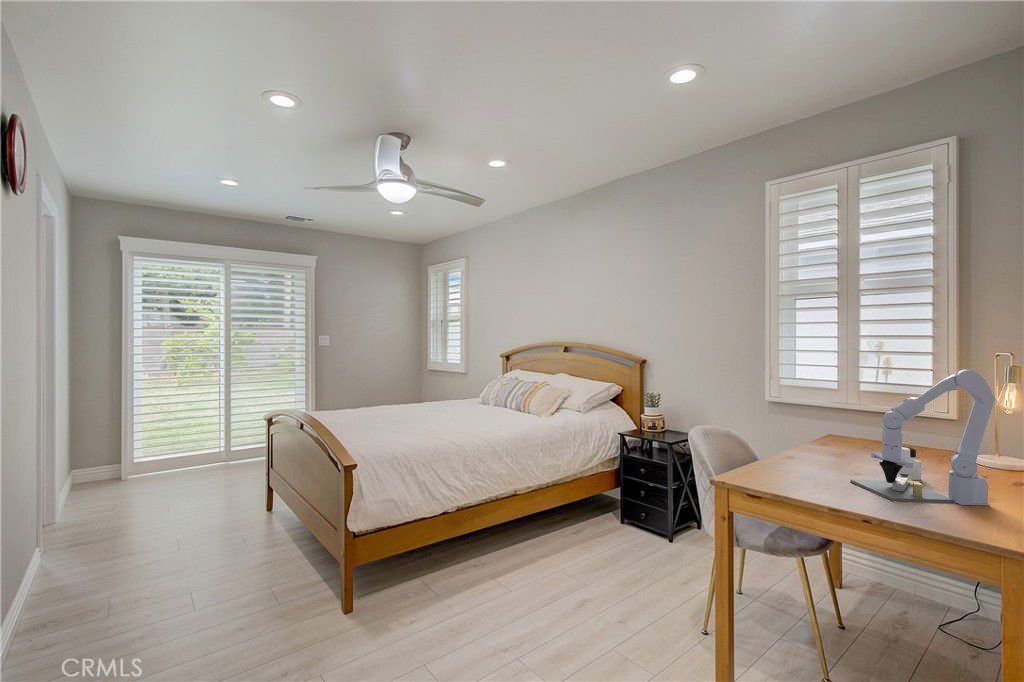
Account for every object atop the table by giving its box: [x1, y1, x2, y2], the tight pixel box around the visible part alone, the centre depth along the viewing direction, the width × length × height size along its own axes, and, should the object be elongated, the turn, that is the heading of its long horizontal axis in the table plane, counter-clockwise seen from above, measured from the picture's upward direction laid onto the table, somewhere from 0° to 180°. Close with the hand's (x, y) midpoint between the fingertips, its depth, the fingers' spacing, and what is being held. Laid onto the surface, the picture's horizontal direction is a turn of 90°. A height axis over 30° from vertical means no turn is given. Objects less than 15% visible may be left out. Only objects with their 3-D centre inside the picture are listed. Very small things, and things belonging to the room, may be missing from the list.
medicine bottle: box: [895, 445, 923, 481], centre depth 189 cm, size 7×7×12 cm
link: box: [892, 475, 911, 492], centre depth 174 cm, size 16×4×2 cm, turn 134°
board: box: [849, 473, 955, 504], centre depth 171 cm, size 20×21×5 cm
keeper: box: [907, 480, 924, 498], centre depth 166 cm, size 6×3×4 cm, turn 154°
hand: (890, 482), depth 174 cm, fingers closed
